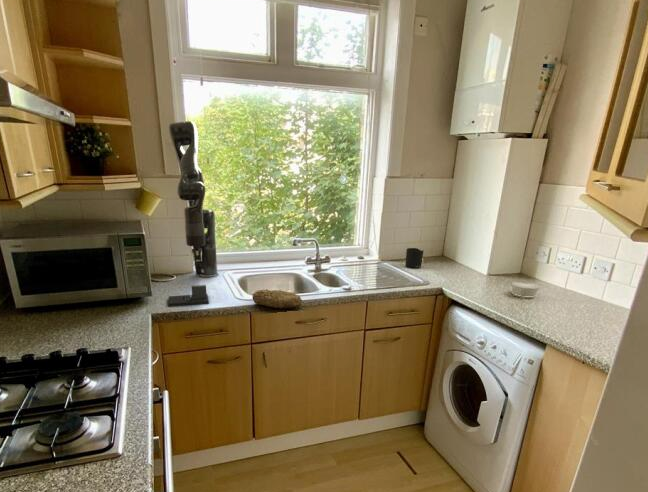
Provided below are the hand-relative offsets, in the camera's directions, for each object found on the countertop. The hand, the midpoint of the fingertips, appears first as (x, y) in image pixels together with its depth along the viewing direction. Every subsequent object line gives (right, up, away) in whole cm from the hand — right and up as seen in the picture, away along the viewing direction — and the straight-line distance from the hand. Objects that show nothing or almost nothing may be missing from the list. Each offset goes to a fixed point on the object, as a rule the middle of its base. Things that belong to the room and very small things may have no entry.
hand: (198, 271), depth 176 cm
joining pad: (-2, -12, +4) cm, 13 cm away
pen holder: (+107, +10, +65) cm, 126 cm away
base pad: (-9, -13, +2) cm, 16 cm away
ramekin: (+146, -9, +18) cm, 148 cm away
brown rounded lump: (+34, -15, -1) cm, 37 cm away
